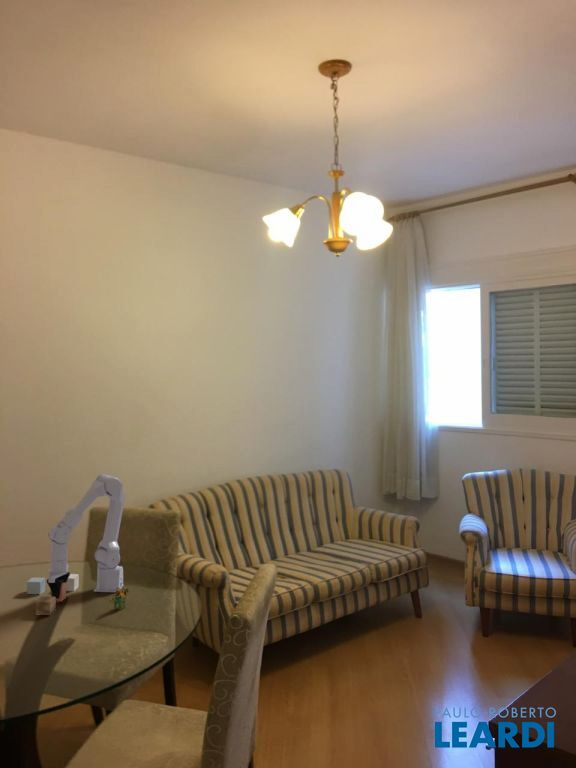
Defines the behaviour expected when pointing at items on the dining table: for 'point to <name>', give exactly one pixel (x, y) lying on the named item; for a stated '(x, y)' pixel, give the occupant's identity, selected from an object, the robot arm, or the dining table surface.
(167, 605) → the dining table surface
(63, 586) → the brick-red block
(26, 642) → the dining table surface
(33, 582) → the blue-grey block
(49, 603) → the walnut block
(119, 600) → the figurine
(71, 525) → the robot arm
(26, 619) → the dining table surface
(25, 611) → the dining table surface
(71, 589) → the pale grey block
